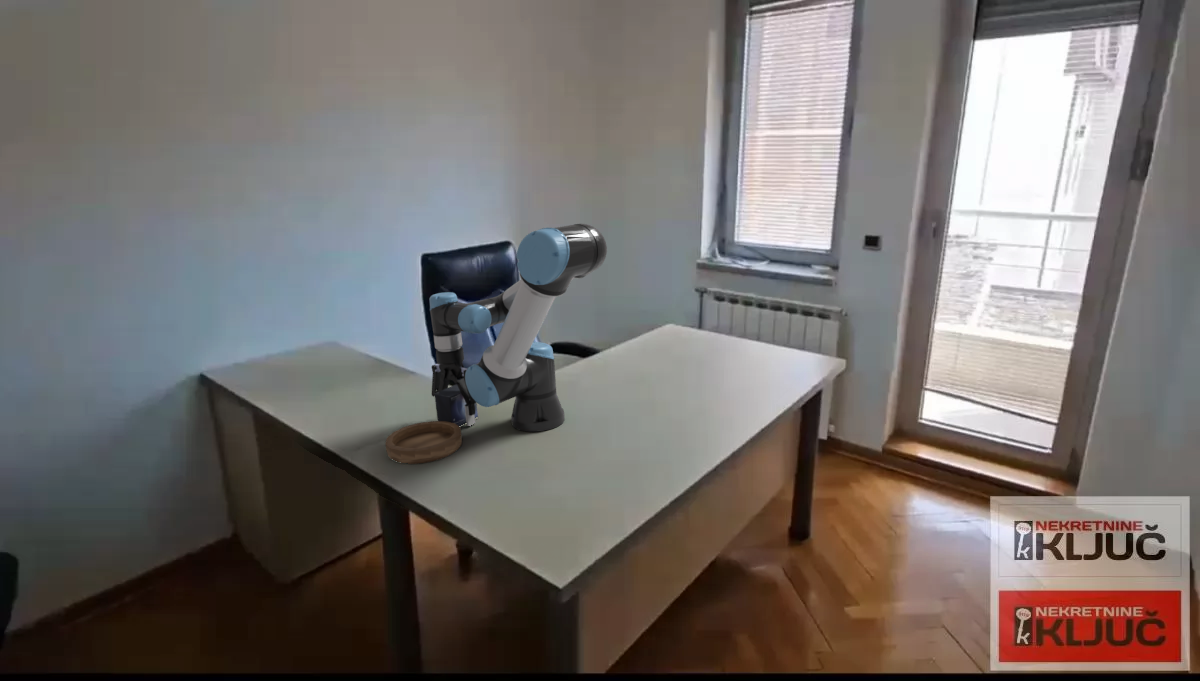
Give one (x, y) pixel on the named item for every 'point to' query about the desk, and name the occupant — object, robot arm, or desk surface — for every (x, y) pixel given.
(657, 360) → the desk surface
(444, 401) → the small box
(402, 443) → the tray
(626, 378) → the desk surface
